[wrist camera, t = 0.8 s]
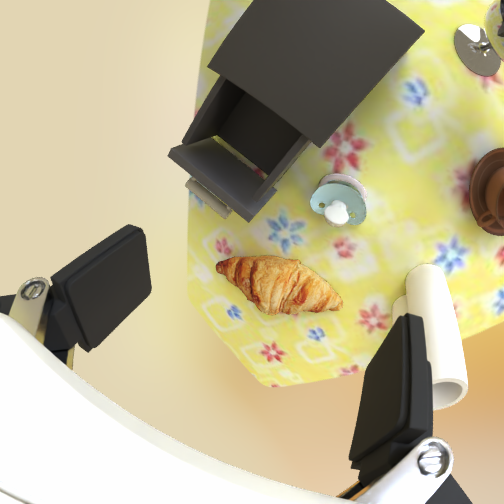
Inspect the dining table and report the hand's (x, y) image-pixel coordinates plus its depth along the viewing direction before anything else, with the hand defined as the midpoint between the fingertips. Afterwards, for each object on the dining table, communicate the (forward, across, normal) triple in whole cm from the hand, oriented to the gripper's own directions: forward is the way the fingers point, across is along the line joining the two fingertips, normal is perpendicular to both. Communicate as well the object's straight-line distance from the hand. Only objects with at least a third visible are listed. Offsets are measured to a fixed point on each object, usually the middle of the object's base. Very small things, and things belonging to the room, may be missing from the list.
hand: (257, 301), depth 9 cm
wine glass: (+29, -16, -20) cm, 39 cm away
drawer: (+28, +11, 0) cm, 30 cm away
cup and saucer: (+30, -23, -3) cm, 38 cm away
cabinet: (+29, +4, -12) cm, 32 cm away
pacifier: (+30, -1, +5) cm, 30 cm away
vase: (+30, -18, +17) cm, 39 cm away
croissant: (+30, +4, +22) cm, 37 cm away
